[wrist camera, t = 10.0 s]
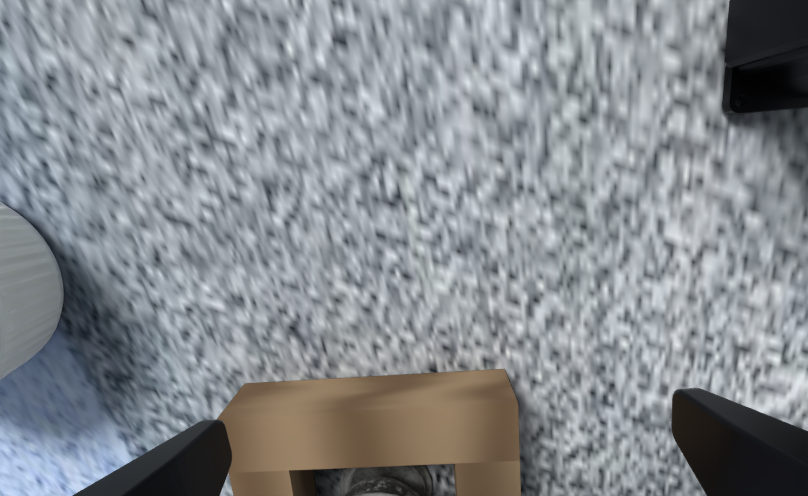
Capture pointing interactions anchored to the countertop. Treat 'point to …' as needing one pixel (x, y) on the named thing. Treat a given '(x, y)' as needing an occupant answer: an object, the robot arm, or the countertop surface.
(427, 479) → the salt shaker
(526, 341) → the countertop surface
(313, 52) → the countertop surface
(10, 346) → the ramekin
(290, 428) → the socket block
